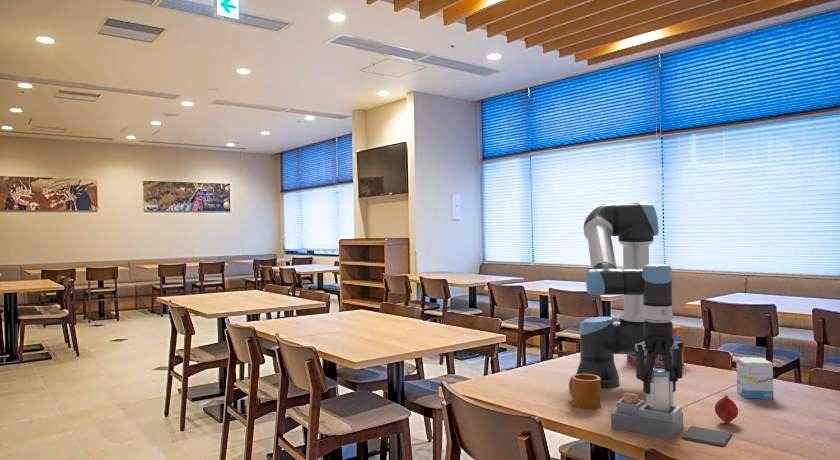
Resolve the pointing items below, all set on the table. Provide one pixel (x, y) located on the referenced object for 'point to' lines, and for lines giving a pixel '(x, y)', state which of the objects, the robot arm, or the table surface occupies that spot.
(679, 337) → the game box
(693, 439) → the pad
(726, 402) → the onion
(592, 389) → the mug
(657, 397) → the cylinder
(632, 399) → the salmon orange cube
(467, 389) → the table surface
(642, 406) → the box
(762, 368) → the ink box
